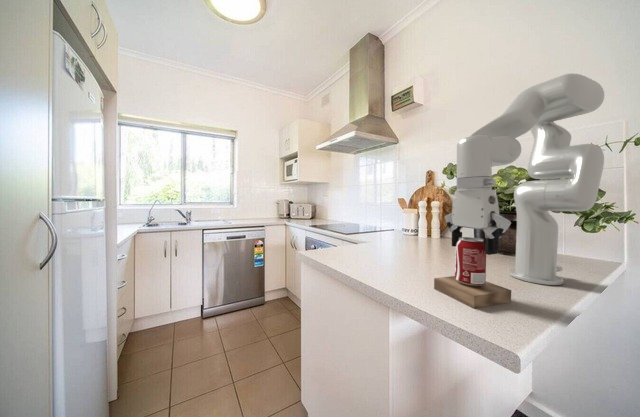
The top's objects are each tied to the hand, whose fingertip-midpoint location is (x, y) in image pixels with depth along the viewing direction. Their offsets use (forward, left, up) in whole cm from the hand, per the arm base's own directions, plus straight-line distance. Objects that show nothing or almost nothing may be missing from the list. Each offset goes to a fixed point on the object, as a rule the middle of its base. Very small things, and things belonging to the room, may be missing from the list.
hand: (472, 249), depth 59 cm
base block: (+1, 0, -12) cm, 12 cm away
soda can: (+1, 0, -9) cm, 9 cm away
